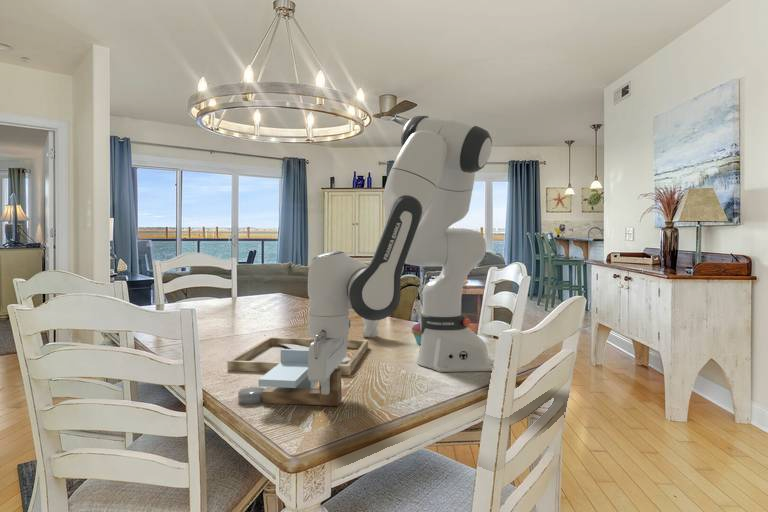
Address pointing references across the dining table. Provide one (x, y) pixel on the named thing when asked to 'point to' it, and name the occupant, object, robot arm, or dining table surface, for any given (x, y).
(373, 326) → the shell sculpture
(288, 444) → the dining table surface
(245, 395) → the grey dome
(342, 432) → the dining table surface
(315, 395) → the brown l-shaped block
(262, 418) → the dining table surface
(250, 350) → the wooden frame
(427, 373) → the dining table surface
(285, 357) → the shelf
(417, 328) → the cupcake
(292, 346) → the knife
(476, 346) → the robot arm
